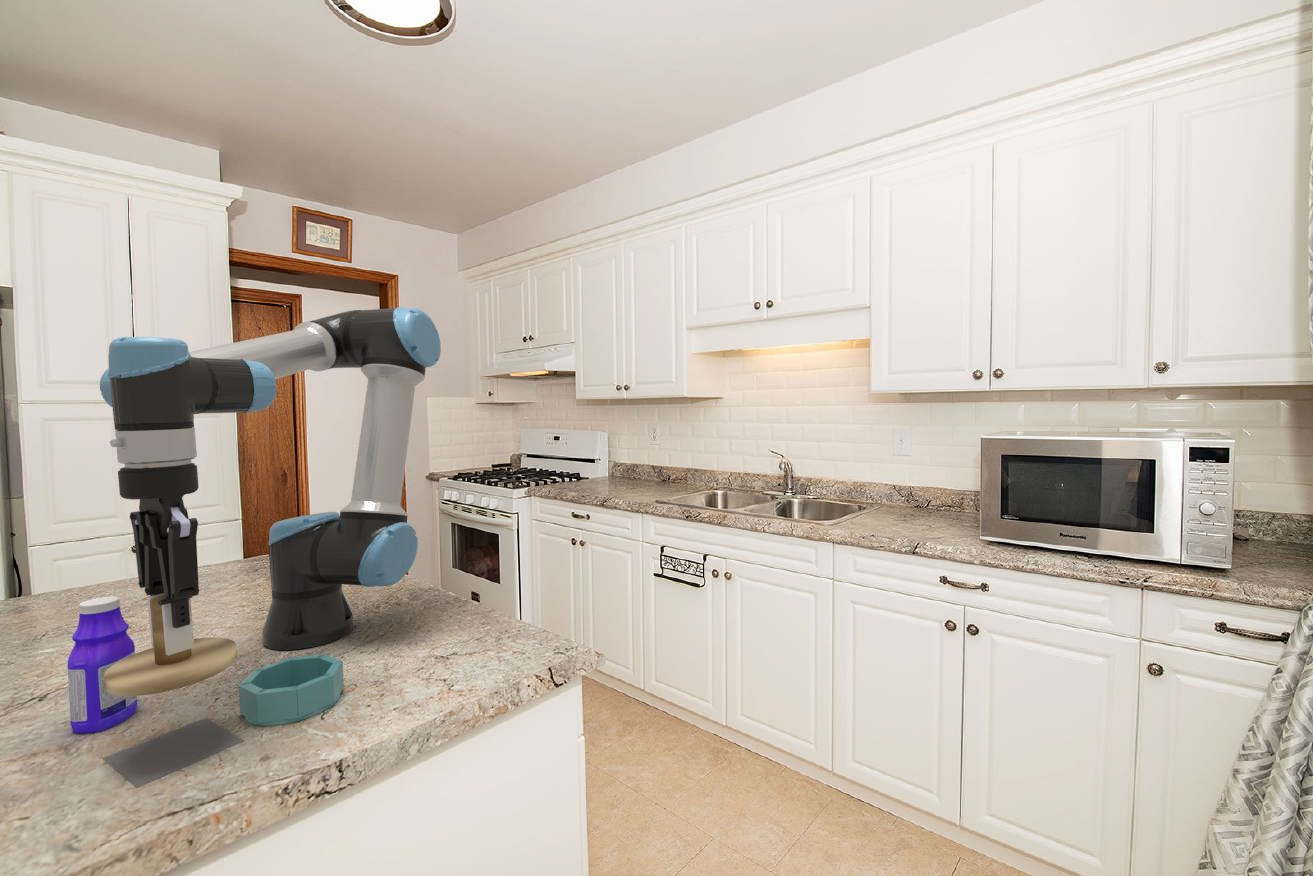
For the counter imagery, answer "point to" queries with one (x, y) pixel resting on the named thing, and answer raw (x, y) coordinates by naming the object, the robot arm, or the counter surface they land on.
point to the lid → (168, 663)
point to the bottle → (98, 666)
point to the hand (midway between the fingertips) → (172, 646)
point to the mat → (171, 751)
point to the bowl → (291, 690)
